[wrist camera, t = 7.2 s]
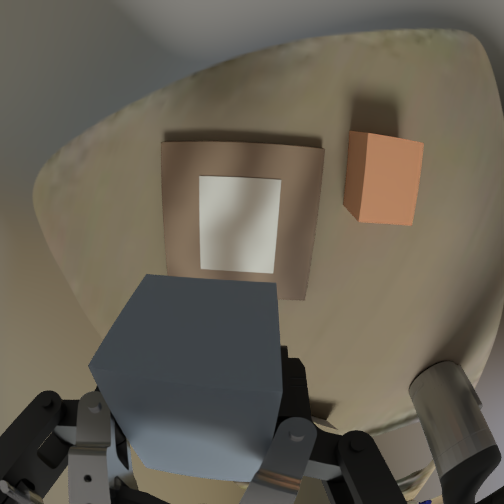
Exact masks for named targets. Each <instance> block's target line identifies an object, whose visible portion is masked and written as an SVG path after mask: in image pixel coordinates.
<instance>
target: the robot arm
mask: <svg viewBox="0 0 504 504" xmlns="http://www.w3.org/2000/svg"><path fill="white" fill-rule="evenodd" d="M280 349H281V367H282V387H283V393H282V398H281V402H280V407H279V412H278V417H277V421H276V426H275V430H274V435H273V439H272V443H271V445H270V447H269V449H268V451H267V453H266V455H265V457H264V460H263V462H262V464H261V466H260V468H259V470H258V471H257V472H256V473H255V475H254V476H253V478H252V480H251V482H250V484H249V486H248V488H247V490H246V492H245V493H244V495H243V497H242V499H241V501H240V503H239V504H293V503H294V501H295V498H296V496H297V493H298V491H299V488H300V483H301V479H302V477H303V475H304V476H309V477H313V478H318V479H321V480H322V483H323V486H324V488H325V491H326V493H327V496H328V498H329V500H330V503H331V504H407V502H406V500H405V498H404V496H403V494H402V492H401V490H400V488H399V486H398V485H397V483H396V481H395V479H394V477H393V475H392V473H391V471H390V469H389V468H388V466H387V464H386V462H385V460H384V458H383V457H382V455H381V453H380V451H379V449H378V447H377V445H376V443H375V442H374V440H373V438H372V437H371V436H370V435H369V434H367V433H365V432H363V431H358V430H355V431H349V432H347V433H345V434H344V435H343V436H342V435H337V434H333V433H328V432H325V431H323V430H321V429H319V428H318V427H317V426H316V425H315V424H314V422H313V421H312V418H311V412H310V404H309V396H308V388H307V380H306V372H305V367H304V365H303V364H302V362H301V361H300V359H299V358H288V350H287V346H280ZM409 394H410V397H411V399H412V402H413V405H414V407H415V410H416V413H417V415H418V418H419V420H420V423H421V426H422V428H423V431H424V434H425V436H426V440H427V442H428V445H429V448H430V451H431V454H432V457H433V460H434V463H435V466H436V469H437V473H438V476H439V479H440V483H441V487H442V497H443V503H444V504H504V486H503V487H501V488H500V489H498V490H497V491H495V492H494V493H492V494H490V495H489V496H487V497H486V498H484V499H482V500H481V501H479V502H477V503H475V495H476V493H477V491H478V489H479V488H480V486H481V485H482V484H483V482H484V481H485V480H486V478H487V477H488V476H489V475H490V474H491V473H492V472H493V470H494V469H495V468H496V467H497V466H498V464H499V463H500V461H501V453H500V451H499V448H498V446H497V444H496V442H495V440H494V437H493V435H492V433H491V431H490V429H489V427H488V425H487V422H486V421H485V418H484V416H483V414H482V412H481V411H480V409H481V408H482V403H481V401H480V399H479V397H478V395H477V393H476V392H475V390H474V388H473V386H472V384H471V382H470V381H469V379H468V377H467V375H466V374H465V372H464V370H463V369H462V367H461V365H456V364H455V363H454V362H451V361H445V362H441V363H438V364H436V365H434V366H432V367H430V368H428V369H427V370H426V371H424V372H423V373H422V374H420V375H419V376H418V377H417V378H416V379H415V380H414V382H413V383H412V385H411V387H410V389H409ZM51 432H52V433H51ZM50 433H51V434H50ZM48 436H49V437H48ZM47 437H48V438H47ZM46 438H47V439H46ZM45 439H46V440H45ZM44 441H45V442H44ZM43 442H44V443H43ZM42 443H43V444H42ZM41 444H42V445H41ZM40 446H41V447H40ZM39 447H40V448H39ZM38 448H39V449H38ZM67 465H68V488H69V504H170V503H167V502H165V501H163V500H160V499H159V498H156V497H154V496H152V495H150V494H148V493H146V492H142V491H139V490H138V486H137V483H136V480H135V478H134V475H133V470H132V462H131V453H130V443H129V441H128V439H127V438H126V436H125V435H124V433H123V431H122V430H121V428H120V426H119V425H118V423H117V421H116V419H115V418H114V416H113V414H112V412H111V411H110V409H109V407H108V405H107V403H106V401H105V399H104V397H103V396H102V394H101V392H100V390H99V388H98V386H97V387H96V389H95V391H92V392H88V393H86V394H85V395H83V396H82V397H81V399H80V400H62V399H61V398H60V396H59V395H58V394H57V393H56V392H54V391H43V392H41V393H40V394H39V395H37V396H36V397H35V399H34V400H33V401H32V402H31V403H30V404H29V405H28V406H27V407H26V408H25V409H24V411H23V412H22V413H21V414H20V415H19V416H18V417H17V418H16V419H15V420H14V421H13V423H12V424H11V425H10V426H9V427H8V428H7V429H6V431H5V432H4V433H3V434H2V435H1V436H0V504H44V503H43V500H42V499H43V498H44V497H45V495H46V494H47V492H48V491H49V490H50V488H51V487H52V486H53V484H54V483H55V482H56V480H57V479H58V478H59V476H60V475H61V473H62V472H63V471H64V469H65V468H66V467H67Z"/></svg>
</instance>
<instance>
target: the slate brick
mask: <svg viewBox="0 0 504 504" xmlns="http://www.w3.org/2000/svg"><path fill="white" fill-rule="evenodd" d="M88 366H89V369H90V371H91V373H92V375H93V377H94V379H95V382H96V383H97V386H98V388H99V390H100V392H101V394H102V396H103V397H104V399H105V401H106V403H107V405H108V407H109V409H110V411H111V412H112V414H113V416H114V418H115V419H116V421H117V423H118V425H119V426H120V428H121V430H122V431H123V433H124V435H125V436H126V438H127V439H128V441H129V443H130V444H131V446H132V447H133V449H134V450H135V452H136V453H137V455H138V456H139V458H140V459H141V461H142V462H143V464H144V465H145V466H146V467H147V468H151V469H155V470H160V471H165V472H170V473H175V474H181V475H187V476H194V477H200V478H208V479H217V480H228V481H241V482H251V480H252V478H253V476H254V475H255V473H256V472H257V471H258V470H259V468H260V466H261V464H262V462H263V460H264V457H265V455H266V453H267V451H268V449H269V447H270V445H271V443H272V439H273V435H274V430H275V426H276V421H277V417H278V412H279V407H280V402H281V398H282V393H283V387H282V367H281V349H280V331H279V315H278V300H277V285H276V283H273V282H253V281H236V280H219V279H204V278H190V277H176V276H163V275H150V274H146V276H145V277H144V278H143V280H142V281H141V283H140V284H139V286H138V287H137V289H136V290H135V292H134V293H133V295H132V296H131V298H130V299H129V301H128V302H127V304H126V305H125V307H124V308H123V310H122V311H121V313H120V315H119V316H118V318H117V319H116V321H115V322H114V324H113V325H112V327H111V329H110V330H109V332H108V333H107V335H106V337H105V338H104V340H103V342H102V343H101V345H100V346H99V348H98V350H97V351H96V353H95V355H94V356H93V358H92V360H91V362H90V364H89V365H88Z"/></svg>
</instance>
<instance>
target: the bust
mask: <svg viewBox="0 0 504 504" xmlns="http://www.w3.org/2000/svg"><path fill="white" fill-rule="evenodd" d="M407 504H419V503H418V502H417V501H416V500H413V501H407Z"/></svg>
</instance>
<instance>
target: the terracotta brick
mask: <svg viewBox="0 0 504 504" xmlns="http://www.w3.org/2000/svg"><path fill="white" fill-rule="evenodd" d="M423 146H424V143H421V142H416V141H411V140H406V139H401V138H396V137H390V136H384V135H378V134H372V133H365V132H357V131H349V147H348V160H347V172H346V183H345V192H344V202H343V205H344V206H345V207H346V208H347V210H348V211H349V212H350V213H351V214H352V215H353V216H354V217H355V218H356V220H357V221H358V222H367V223H382V224H396V225H409V226H412V222H413V217H414V212H415V206H416V200H417V194H418V188H419V181H420V173H421V165H422V156H423Z"/></svg>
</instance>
